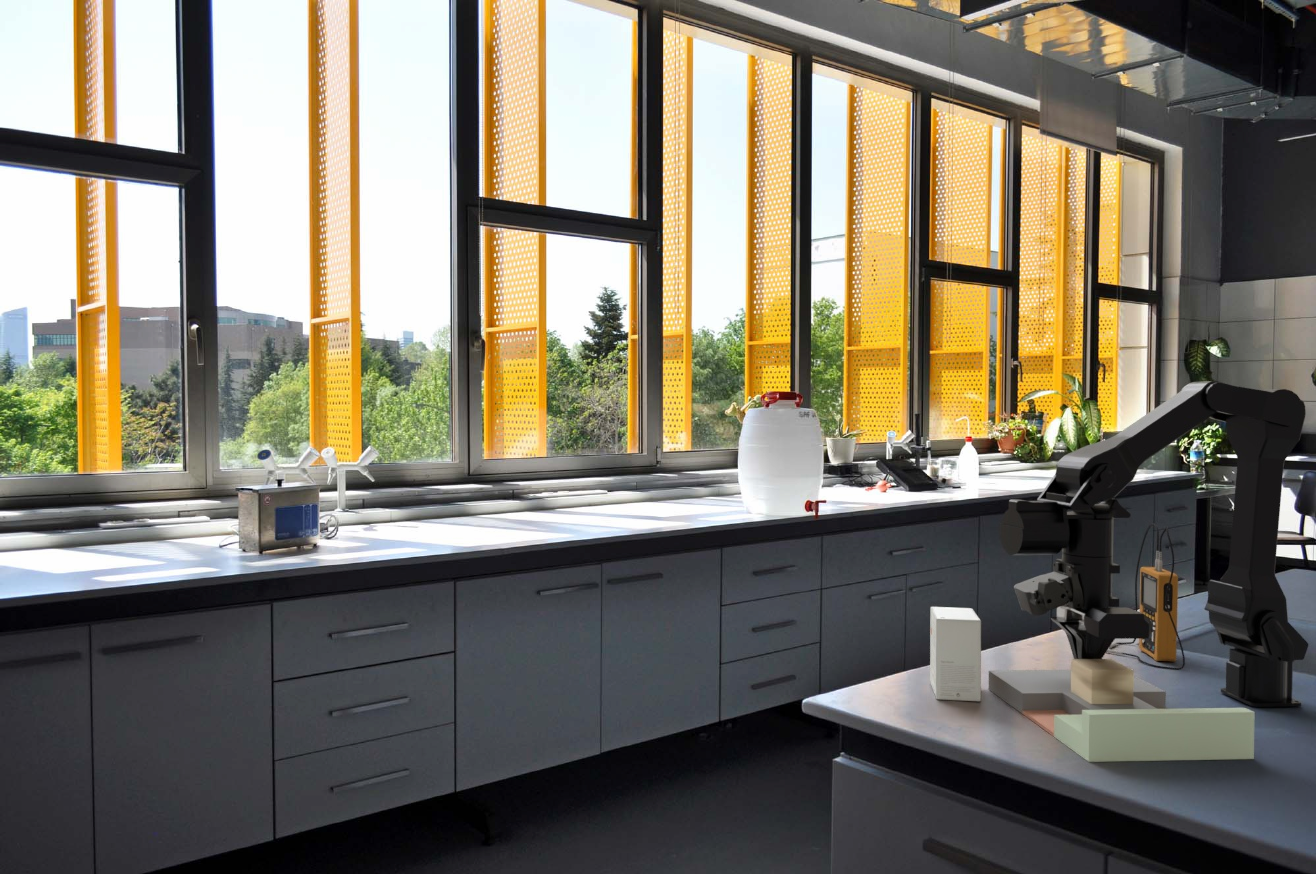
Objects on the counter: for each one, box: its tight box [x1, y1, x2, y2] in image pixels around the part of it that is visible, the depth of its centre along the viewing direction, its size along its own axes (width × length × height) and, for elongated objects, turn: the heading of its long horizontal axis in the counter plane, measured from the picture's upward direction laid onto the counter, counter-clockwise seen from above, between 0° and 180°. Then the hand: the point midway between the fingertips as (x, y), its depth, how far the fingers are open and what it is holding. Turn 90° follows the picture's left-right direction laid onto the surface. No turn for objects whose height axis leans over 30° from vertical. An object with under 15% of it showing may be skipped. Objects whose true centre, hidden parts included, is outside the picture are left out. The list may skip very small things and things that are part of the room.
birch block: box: [1070, 658, 1135, 704], centre depth 110 cm, size 5×5×4 cm
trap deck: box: [988, 669, 1256, 763], centre depth 110 cm, size 18×26×5 cm
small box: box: [929, 606, 982, 702], centre depth 121 cm, size 8×6×10 cm
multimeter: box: [1106, 523, 1186, 671], centre depth 139 cm, size 15×10×20 cm
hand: (1084, 678), depth 115 cm, fingers closed
